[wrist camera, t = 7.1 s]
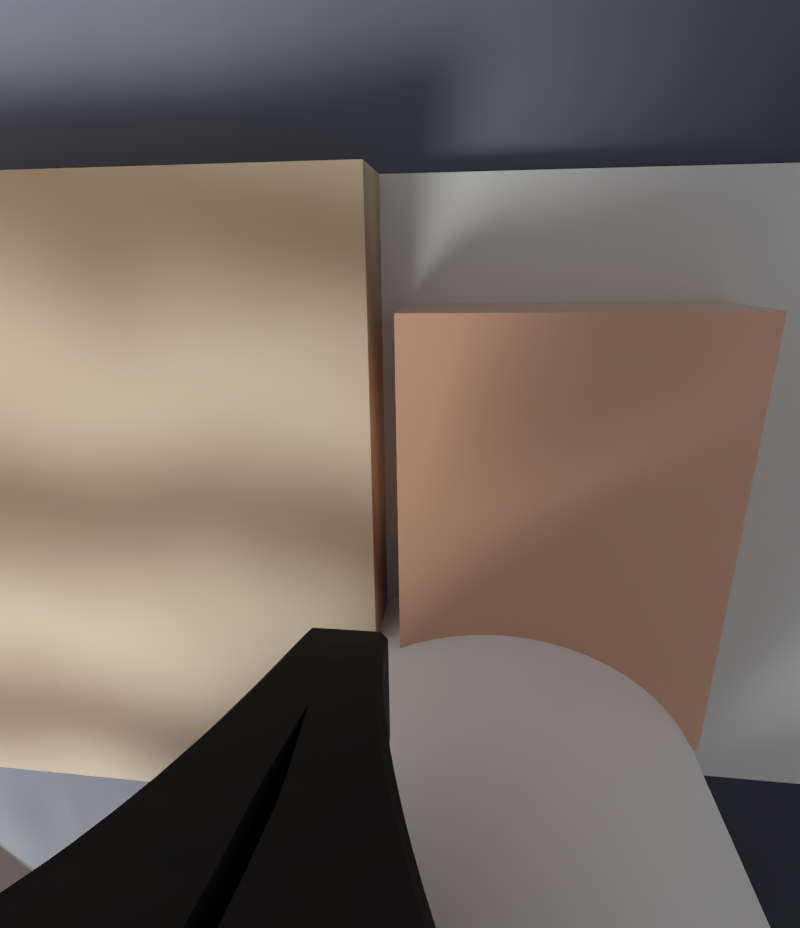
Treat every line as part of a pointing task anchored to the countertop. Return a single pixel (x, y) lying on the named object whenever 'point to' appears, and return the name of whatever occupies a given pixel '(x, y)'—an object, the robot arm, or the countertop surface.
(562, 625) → the tile
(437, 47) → the countertop surface
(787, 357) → the mat
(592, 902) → the bracket
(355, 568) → the board
